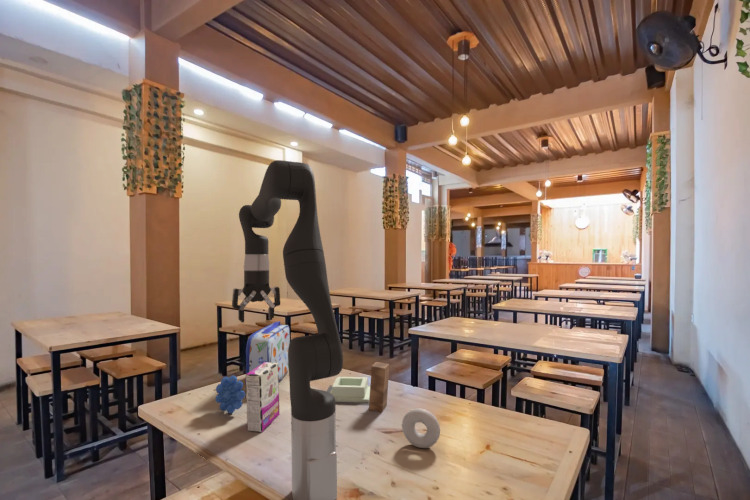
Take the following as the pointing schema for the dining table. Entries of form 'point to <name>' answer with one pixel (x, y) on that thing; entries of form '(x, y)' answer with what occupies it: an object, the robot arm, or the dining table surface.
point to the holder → (351, 389)
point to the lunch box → (269, 348)
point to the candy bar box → (262, 396)
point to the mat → (347, 402)
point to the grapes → (230, 394)
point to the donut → (428, 420)
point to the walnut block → (379, 386)
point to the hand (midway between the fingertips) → (256, 320)
